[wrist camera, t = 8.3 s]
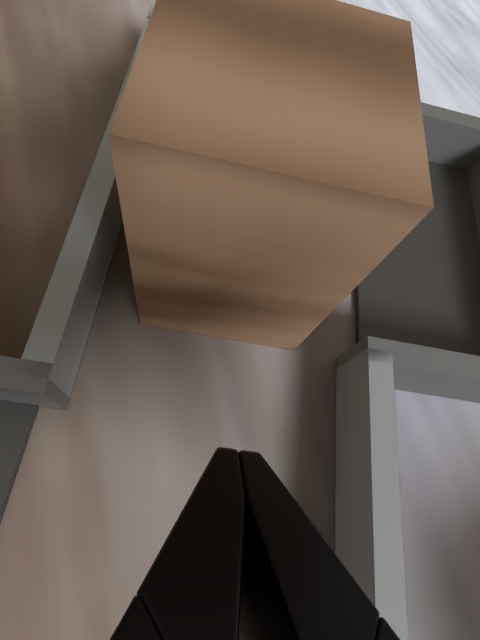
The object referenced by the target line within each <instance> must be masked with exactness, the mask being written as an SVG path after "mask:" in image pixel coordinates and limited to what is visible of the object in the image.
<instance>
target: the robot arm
mask: <svg viewBox="0 0 480 640" xmlns="http://www.w3.org/2000/svg"><path fill="white" fill-rule="evenodd" d="M379 616H380V614H379V611H378V610H377V608H376V607H375V606H374V604H373V603H372V602H371V600H370V599H369V598H368V596H367V595H366V594H365V592H364V591H363V590H362V588H361V587H360V586H359V584H358V583H357V582H356V580H355V579H354V578H353V576H352V575H351V574H350V572H349V571H348V570H347V568H346V567H345V566H344V564H343V563H342V562H341V560H340V559H339V558H338V556H337V555H336V554H335V552H334V551H333V550H332V548H331V547H330V546H329V544H328V543H327V542H326V540H325V539H324V538H323V536H322V535H321V534H320V532H319V531H318V530H317V528H316V527H315V526H314V524H313V523H312V522H311V520H310V519H309V518H308V516H307V515H306V514H305V512H304V511H303V510H302V509H301V507H300V506H299V505H298V503H297V502H296V501H295V499H294V498H293V497H292V495H291V494H290V493H289V491H288V490H287V489H286V487H285V486H284V485H283V483H282V482H281V481H280V479H279V478H278V477H277V475H276V474H275V473H274V471H273V470H272V469H271V467H270V466H269V465H268V463H267V462H266V461H265V459H264V458H263V457H262V455H261V454H260V453H258V452H252V451H245V450H241V451H239V452H238V451H237V450H236V449H230V448H223V447H219V448H217V449H216V451H215V452H214V454H213V456H212V458H211V460H210V462H209V463H208V465H207V467H206V469H205V471H204V472H203V474H202V476H201V478H200V480H199V481H198V483H197V485H196V487H195V489H194V490H193V492H192V494H191V496H190V498H189V499H188V501H187V503H186V505H185V507H184V508H183V510H182V512H181V514H180V516H179V517H178V519H177V521H176V523H175V525H174V526H173V528H172V530H171V532H170V534H169V535H168V537H167V539H166V541H165V543H164V545H163V546H162V548H161V550H160V552H159V554H158V555H157V557H156V559H155V561H154V563H153V564H152V566H151V568H150V570H149V572H148V573H147V575H146V577H145V579H144V581H143V582H142V584H141V586H140V588H139V590H138V592H137V596H135V597H134V598H133V600H132V602H131V603H130V605H129V607H128V609H127V611H126V612H125V614H124V616H123V618H122V619H121V621H120V623H119V625H118V626H117V628H116V630H115V631H114V633H113V635H112V636H111V638H110V640H400V638H399V637H398V636H397V634H396V633H395V632H394V631H393V629H392V628H391V627H390V625H389V624H388V623H387V621H386V620H385V619H384V618H383V617H380V618H379Z"/></svg>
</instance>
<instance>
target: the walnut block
mask: <svg viewBox="0 0 480 640" xmlns="http://www.w3.org/2000/svg"><path fill="white" fill-rule="evenodd" d="M109 140H110V146H111V152H112V158H113V164H114V170H115V176H116V182H117V188H118V194H119V200H120V206H121V212H122V218H123V224H124V230H125V236H126V242H127V248H128V254H129V260H130V266H131V272H132V278H133V284H134V290H135V296H136V302H137V308H138V314H139V320H140V324H141V325H147V326H153V327H159V328H164V329H170V330H176V331H182V332H188V333H194V334H200V335H206V336H212V337H217V338H223V339H229V340H235V341H241V342H247V343H253V344H259V345H265V346H270V347H276V348H282V349H288V350H295V349H296V348H297V347H298V346H299V345H300V344H301V343H302V342H303V341H304V340H305V339H306V338H307V337H308V336H309V335H310V334H311V332H312V331H313V330H314V329H315V328H316V327H317V326H318V325H319V324H320V323H321V322H322V321H323V320H324V319H325V318H326V317H327V316H328V315H329V314H330V313H331V312H332V311H333V310H334V309H335V308H336V307H337V306H338V305H339V304H340V303H341V302H342V301H343V300H344V299H345V298H346V297H347V296H348V295H349V294H350V293H351V292H352V291H353V290H354V289H355V288H356V287H357V286H358V285H359V284H360V283H361V282H362V281H363V279H364V278H365V277H366V276H367V275H368V274H369V273H370V272H371V271H372V270H373V269H374V268H375V267H376V266H377V265H378V264H379V263H380V262H381V261H382V260H383V259H384V258H385V257H386V256H387V255H388V254H389V253H390V252H391V251H392V250H393V249H394V248H395V247H396V246H397V245H398V244H399V243H400V242H401V241H402V240H403V239H404V238H405V237H406V236H407V235H408V234H409V233H410V232H411V231H412V230H413V229H414V228H415V226H416V225H417V224H418V223H419V222H420V221H421V220H422V219H423V218H424V217H425V216H426V215H427V214H428V213H429V212H430V211H431V210H432V209H433V208H434V204H433V196H432V188H431V180H430V172H429V164H428V157H427V149H426V141H425V133H424V125H423V117H422V109H421V102H420V94H419V86H418V78H417V70H416V62H415V54H414V47H413V39H412V31H411V23H410V21H406V20H403V19H399V18H396V17H392V16H389V15H385V14H382V13H378V12H375V11H371V10H368V9H365V8H361V7H358V6H354V5H351V4H347V3H344V2H340V1H337V0H157V1H156V3H155V6H154V9H153V12H152V14H151V17H150V20H149V23H148V26H147V28H146V31H145V34H144V37H143V39H142V42H141V45H140V48H139V51H138V53H137V56H136V59H135V62H134V64H133V67H132V70H131V73H130V75H129V78H128V81H127V84H126V87H125V89H124V92H123V95H122V98H121V100H120V103H119V106H118V109H117V112H116V114H115V117H114V120H113V123H112V125H111V128H110V131H109Z"/></svg>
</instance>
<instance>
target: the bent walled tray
mask: <svg viewBox="0 0 480 640" xmlns="http://www.w3.org/2000/svg"><path fill="white" fill-rule="evenodd" d="M153 9H154V8H152V7H151V9H150V11H149V14H148V17H147V20H146V22H145V25H144V28H143V30H142V33H141V36H140V38H139V41H138V44H137V47H136V49H135V52H134V55H133V57H132V60H131V63H130V65H129V68H128V71H127V74H126V76H125V79H124V82H123V84H122V87H121V90H120V92H119V95H118V98H117V101H116V103H115V106H114V109H113V111H112V114H111V117H110V120H109V122H108V125H107V128H106V130H105V133H104V136H103V138H102V141H101V144H100V147H99V149H98V152H97V155H96V157H95V160H94V163H93V165H92V168H91V171H90V174H89V176H88V179H87V182H86V184H85V187H84V190H83V192H82V195H81V198H80V201H79V203H78V206H77V209H76V211H75V214H74V217H73V219H72V222H71V225H70V228H69V230H68V233H67V236H66V238H65V241H64V244H63V246H62V249H61V252H60V255H59V257H58V260H57V263H56V265H55V268H54V271H53V273H52V276H51V279H50V282H49V284H48V287H47V290H46V292H45V295H44V298H43V301H42V303H41V306H40V309H39V311H38V314H37V317H36V319H35V322H34V325H33V328H32V330H31V333H30V336H29V338H28V341H27V344H26V346H25V349H24V352H23V355H22V357H21V358H14V357H8V356H1V355H0V523H1V520H2V517H3V514H4V511H5V508H6V505H7V502H8V499H9V496H10V493H11V490H12V487H13V484H14V481H15V478H16V475H17V472H18V469H19V466H20V463H21V460H22V457H23V454H24V451H25V448H26V444H27V441H28V438H29V435H30V432H31V429H32V426H33V423H34V420H35V417H36V414H37V411H38V408H39V406H41V407H48V408H55V409H62V410H66V409H67V405H68V402H69V399H70V395H71V392H72V389H73V385H74V382H75V379H76V375H77V372H78V369H79V365H80V362H81V359H82V355H83V352H84V349H85V345H86V342H87V339H88V336H89V332H90V329H91V326H92V322H93V319H94V316H95V312H96V309H97V306H98V302H99V299H100V296H101V292H102V289H103V286H104V282H105V279H106V276H107V272H108V269H109V266H110V262H111V259H112V256H113V252H114V249H115V246H116V242H117V239H118V236H119V232H120V229H121V226H122V222H123V218H122V212H121V206H120V200H119V194H118V188H117V182H116V176H115V170H114V164H113V158H112V152H111V146H110V140H109V131H110V128H111V125H112V123H113V120H114V117H115V114H116V112H117V109H118V106H119V103H120V100H121V98H122V95H123V92H124V89H125V87H126V84H127V81H128V78H129V75H130V73H131V70H132V67H133V64H134V62H135V59H136V56H137V53H138V51H139V48H140V45H141V42H142V39H143V37H144V34H145V31H146V28H147V26H148V23H149V20H150V17H151V14H152V12H153ZM421 109H422V117H423V125H424V133H425V141H426V149H427V157H428V164H429V172H430V180H431V188H432V196H433V204H434V208H433V209H432V210H431V211H430V212H429V213H428V214H427V215H426V216H425V217H424V218H423V219H422V220H421V221H420V222H419V223H418V224H417V225H416V226H415V228H414V229H413V230H412V231H411V232H410V233H409V234H408V235H407V236H406V237H405V238H404V239H403V240H402V241H401V242H400V243H399V244H398V245H397V246H396V247H395V248H394V249H393V250H392V251H391V252H390V253H389V254H388V255H387V256H386V257H385V258H384V259H383V260H382V261H381V262H380V263H379V264H378V265H377V266H376V267H375V268H374V269H373V270H372V271H371V272H370V273H369V274H368V275H367V276H366V277H365V278H364V279H363V281H362V282H361V283H360V284H359V285H358V286H357V287H356V342H357V344H356V345H354V346H353V347H352V348H350V349H349V350H348V351H346V352H345V353H343V354H342V355H341V356H339V357H338V358H337V362H336V482H335V554H336V555H337V556H338V558H339V559H340V560H341V562H342V563H343V564H344V566H345V567H346V568H347V570H348V571H349V572H350V574H351V575H352V576H353V578H354V579H355V580H356V582H357V583H358V584H359V586H360V587H361V588H362V590H363V591H364V592H365V594H366V595H367V596H368V598H369V599H370V600H371V602H372V603H373V604H374V606H375V607H376V608H377V610H378V611H379V614H380V616H379V618H380V617H383V618H384V619H385V620H386V621H387V623H388V624H389V625H390V627H391V628H392V629H393V631H394V632H395V633H396V634H397V636H398V637H399V638H400V640H408V624H407V606H406V588H405V570H404V553H403V535H402V517H401V499H400V481H399V463H398V445H397V428H396V410H395V392H394V389H398V390H404V391H410V392H417V393H423V394H429V395H435V396H441V397H447V398H453V399H459V400H465V401H471V402H477V403H480V118H478V117H475V116H471V115H467V114H463V113H459V112H456V111H452V110H448V109H444V108H440V107H437V106H433V105H429V104H425V103H421Z"/></svg>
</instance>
